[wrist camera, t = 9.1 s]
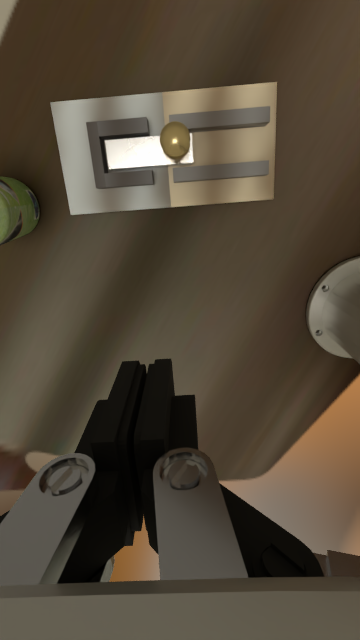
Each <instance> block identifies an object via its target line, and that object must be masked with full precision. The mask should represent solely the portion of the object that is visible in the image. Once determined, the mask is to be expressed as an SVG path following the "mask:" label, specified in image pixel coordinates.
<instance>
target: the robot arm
mask: <svg viewBox="0 0 360 640" xmlns="http://www.w3.org/2000/svg"><path fill="white" fill-rule="evenodd" d="M322 286H324V288H322ZM306 321H307V326H308V329H309V332H310V333H311V335H312V337H313V339H314V340H315V341H316V342H317V343H318V344H319V345H320V346H321V347H322V348H323V349H324V350H326V351H328V352H329V353H331V354H333V355H336V356H340V357H345V358H353V359H355V360H356V361H357V362H358V363H359V364H360V256H358V257H354V258H350V259H348V260H346V261H343V262H341V263H339V264H338V265H336V266H335V267H333V268H331V269H330V270H329V271H328V272H327V273H326V274H325V275H323V276H322V277H321V279H320V280H319V281H318V283H317V284H316V285H315V287H314V289H313V290H312V292H311V294H310V297H309V300H308V303H307V309H306ZM317 330H318V331H317ZM316 331H317V332H316ZM143 515H144V519H145V525H146V530H147V531H148V537H149V544H150V546H151V547H152V548H153V549H154V550H155V551H156V553H157V554H158V555H159V568H160V580H158V581H124V582H109V580H110V577H111V574H112V571H113V567H114V561H115V560H114V555H115V554H116V553H117V552H118V551H119V550H120V549H121V548H123V547H124V546H132V545H133V539H134V533H135V531H141V528H142V523H143ZM0 640H360V556H356V555H351V554H346V553H341V552H336V551H330V550H327V556H326V555H321V554H316V553H312V551H311V550H310V549H309V548H308V547H307V546H306V545H305V544H304V543H302V542H301V541H300V540H299V539H297V538H296V537H294V536H293V535H292V534H290V533H289V532H287V531H286V530H285V529H283V528H282V527H280V526H279V525H278V524H276V523H275V522H273V521H272V520H270V519H269V518H268V517H266V516H265V515H263V514H262V513H261V512H259V511H258V510H256V509H255V508H254V507H252V506H250V505H249V504H248V503H247V502H245V501H244V500H242V499H241V498H239V497H238V496H237V495H235V494H234V493H232V492H231V491H230V490H228V489H227V488H225V487H224V486H222V485H221V484H220V483H219V481H218V478H217V475H216V471H215V468H214V465H213V463H212V461H211V459H210V458H209V457H208V456H207V455H206V454H205V453H203V452H201V451H199V450H198V437H197V421H196V406H195V395H181V396H175V393H174V382H173V371H172V361H171V359H157V360H155V363H154V364H149V367H148V372H147V373H146V366H145V364H142V365H140V362H139V361H124V362H122V364H121V366H120V369H119V371H118V374H117V377H116V379H115V382H114V384H113V387H112V389H111V392H110V394H109V397H108V400H99V401H98V402H97V403H96V405H95V408H94V410H93V412H92V414H91V417H90V419H89V421H88V424H87V426H86V428H85V430H84V433H83V435H82V437H81V439H80V442H79V444H78V446H77V449H76V451H75V453H70V454H66V455H62V456H59V457H57V458H55V459H53V460H51V461H50V462H49V463H47V464H46V465H45V466H43V467H42V468H41V469H40V471H39V472H38V473H37V474H36V475H35V477H34V478H33V479H32V481H31V482H30V484H29V485H28V486H27V488H26V489H25V490H24V492H23V493H22V495H21V496H20V497H19V499H18V500H17V502H16V503H15V504H14V506H13V507H12V508H11V510H9V511H8V512H6V513H5V514H3V515H2V516H0Z"/></svg>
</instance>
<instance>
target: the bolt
mask: <svg viewBox="0 0 360 640" xmlns="http://www.w3.org/2000/svg"><path fill="white" fill-rule="evenodd" d="M105 145H106V152H107V160H108V167H109V170H111V171H118V170H130V169H143V168H155V167H167V166H179V165H191V164H193V146H192V133H189V130H188V129H187V127H186V126H185V125H184V124H182V123H180V122H177V121H173V122H169V123H168V124H166V125H165V126H164V127H163V129H162V131H161V133H160V136H152V137H140V138H128V139H117V140H105Z"/></svg>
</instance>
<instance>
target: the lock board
mask: <svg viewBox="0 0 360 640" xmlns="http://www.w3.org/2000/svg"><path fill="white" fill-rule="evenodd" d="M276 98H277V82H271V83H260V84H249V85H238V86H227V87H215V88H204V89H193V90H182V91H171V92H160V93H149V94H138V95H127V96H116V97H105V98H94V99H83V100H72V101H61V102H50V103H51V109H52V114H53V120H54V125H55V131H56V136H57V142H58V147H59V153H60V158H61V164H62V169H63V175H64V180H65V186H66V191H67V197H68V202H69V208H70V213H71V215H77V214H90V213H103V212H116V211H129V210H141V209H154V208H167V207H180V206H193V205H206V204H219V203H232V202H245V201H258V200H271V199H274V170H275V134H276ZM173 121H177V122H180V123H182V124H184V125H185V126H186V127H187V129H188V130H189V133H192V146H193V164H191V165H179V166H167V167H155V168H143V169H130V170H118V171H111V170H109V167H108V160H107V152H106V145H105V140H117V139H128V138H140V137H152V136H160V133H161V131H162V129H163V127H164V126H165V125H166V124H168V123H169V122H173Z"/></svg>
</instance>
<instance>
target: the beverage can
mask: <svg viewBox="0 0 360 640" xmlns="http://www.w3.org/2000/svg"><path fill="white" fill-rule="evenodd" d="M39 215H40V210H39V204H38V201H37V199H36V197H35V195H34V194H33V192H32V191H31V190H30V189H29V188H28V187H27V186H26V185H25V184H23V183H22V182H20V181H18V180H16V179H13V178H9V177H1V176H0V245H2V244H4V243H7V242H9V241H12V240H14V239H17V238H19V237H22V236H24V235H26V234H28V233H30V232H31V231H32V230H33V229H34V228H35V227H36V225H37V223H38V220H39Z"/></svg>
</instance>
